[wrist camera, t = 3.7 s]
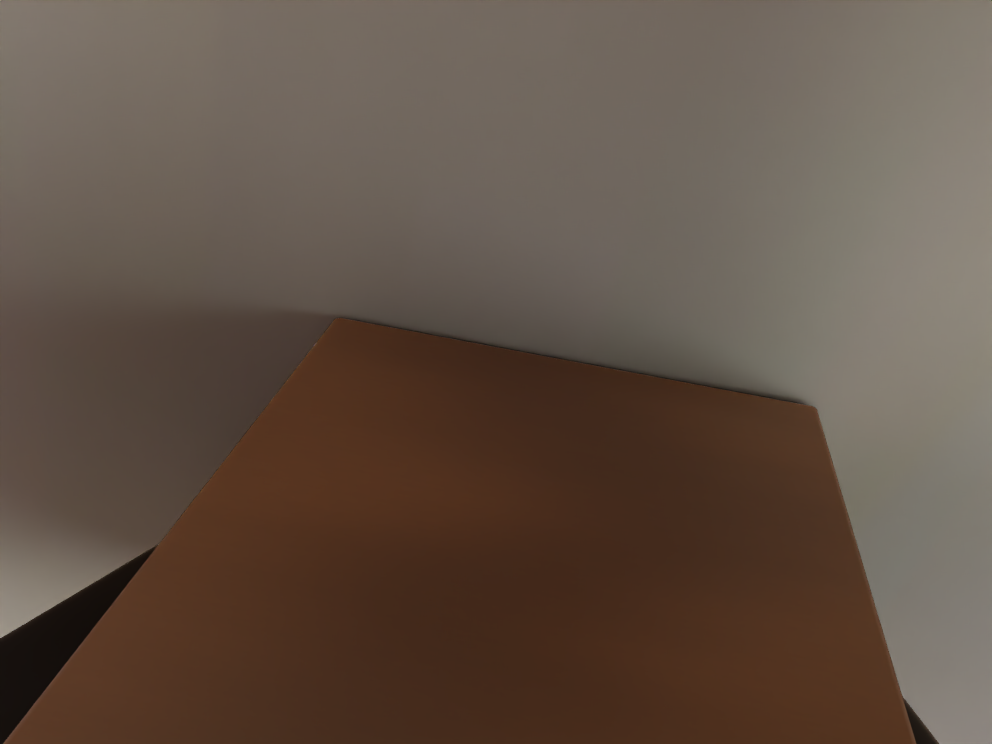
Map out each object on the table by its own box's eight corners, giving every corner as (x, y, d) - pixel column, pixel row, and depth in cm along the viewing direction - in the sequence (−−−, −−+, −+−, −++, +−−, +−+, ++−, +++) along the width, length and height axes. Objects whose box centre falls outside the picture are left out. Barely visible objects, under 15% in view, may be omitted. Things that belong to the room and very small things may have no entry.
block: (817, 405, 8) (1002, 1013, 4) (695, 710, 10) (717, 1261, 6) (335, 314, 8) (-11, 752, 4) (337, 627, 11) (131, 1088, 7)
